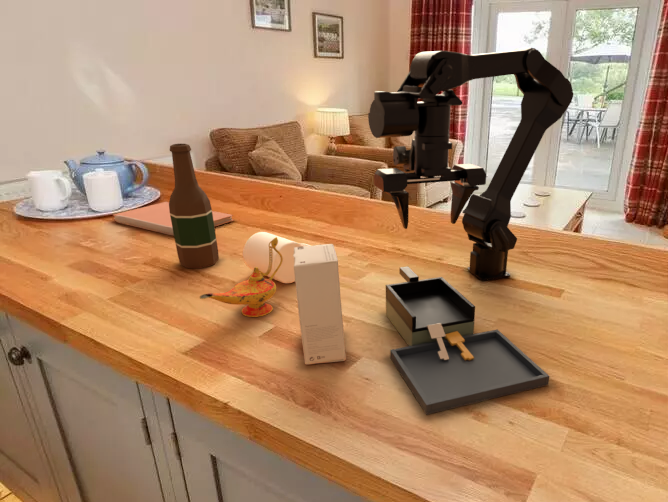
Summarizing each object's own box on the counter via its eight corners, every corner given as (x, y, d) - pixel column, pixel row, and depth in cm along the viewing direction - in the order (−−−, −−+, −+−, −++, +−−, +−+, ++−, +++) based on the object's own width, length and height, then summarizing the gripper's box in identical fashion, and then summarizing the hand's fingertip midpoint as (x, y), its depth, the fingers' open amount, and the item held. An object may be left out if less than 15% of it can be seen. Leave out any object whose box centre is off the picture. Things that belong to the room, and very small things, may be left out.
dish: (376, 287, 84) (376, 270, 83) (429, 279, 88) (430, 263, 87) (412, 332, 70) (412, 313, 69) (474, 321, 73) (475, 302, 72)
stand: (385, 314, 81) (385, 298, 80) (440, 305, 85) (441, 290, 84) (411, 350, 71) (412, 332, 70) (473, 338, 74) (474, 321, 73)
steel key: (426, 326, 70) (426, 325, 70) (440, 324, 71) (441, 322, 71) (438, 362, 68) (439, 361, 67) (453, 359, 68) (454, 358, 68)
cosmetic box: (346, 361, 68) (341, 262, 62) (302, 366, 67) (293, 265, 61) (340, 332, 76) (335, 241, 70) (300, 336, 75) (292, 244, 69)
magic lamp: (191, 333, 75) (178, 266, 71) (271, 290, 90) (264, 232, 86) (224, 343, 72) (213, 275, 68) (301, 297, 87) (295, 238, 83)
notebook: (110, 222, 129) (108, 214, 128) (166, 207, 142) (165, 200, 141) (179, 238, 117) (177, 230, 116) (234, 221, 130) (233, 214, 129)
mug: (275, 289, 90) (271, 248, 87) (244, 275, 96) (239, 236, 93) (325, 270, 99) (322, 232, 96) (294, 259, 105) (291, 223, 102)
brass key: (444, 336, 72) (444, 334, 72) (456, 332, 73) (457, 330, 72) (464, 362, 68) (465, 360, 68) (478, 358, 69) (478, 355, 68)
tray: (496, 337, 75) (497, 329, 74) (548, 385, 64) (549, 376, 63) (390, 358, 69) (390, 349, 69) (426, 414, 58) (426, 405, 57)
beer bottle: (171, 265, 101) (147, 145, 91) (199, 253, 107) (179, 140, 98) (200, 271, 98) (179, 148, 88) (227, 258, 105) (210, 143, 95)
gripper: (460, 128, 91) (456, 210, 97) (363, 131, 85) (366, 218, 91) (490, 135, 81) (484, 225, 88) (384, 139, 75) (385, 236, 81)
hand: (429, 225), depth 87 cm, fingers open, 9 cm apart
